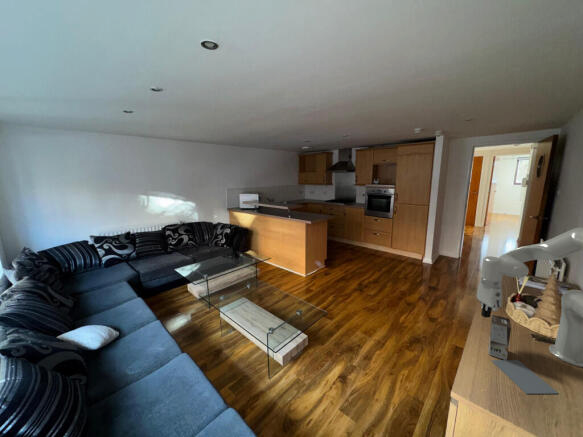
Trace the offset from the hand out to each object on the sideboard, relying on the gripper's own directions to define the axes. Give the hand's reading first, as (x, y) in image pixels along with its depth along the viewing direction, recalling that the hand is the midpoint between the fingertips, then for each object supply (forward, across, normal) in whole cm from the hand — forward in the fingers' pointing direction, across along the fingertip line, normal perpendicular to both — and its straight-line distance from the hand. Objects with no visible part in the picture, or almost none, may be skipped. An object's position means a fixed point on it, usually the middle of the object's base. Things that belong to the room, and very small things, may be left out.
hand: (485, 316), depth 114 cm
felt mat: (+13, -22, +1) cm, 25 cm away
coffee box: (+13, -9, 0) cm, 16 cm away
